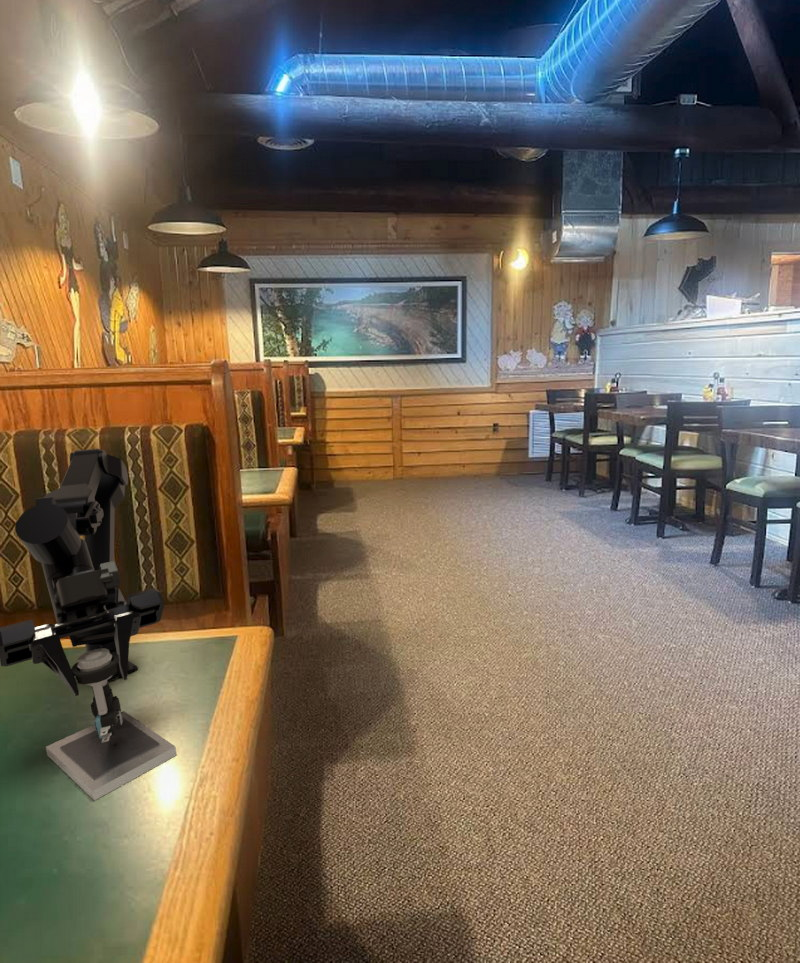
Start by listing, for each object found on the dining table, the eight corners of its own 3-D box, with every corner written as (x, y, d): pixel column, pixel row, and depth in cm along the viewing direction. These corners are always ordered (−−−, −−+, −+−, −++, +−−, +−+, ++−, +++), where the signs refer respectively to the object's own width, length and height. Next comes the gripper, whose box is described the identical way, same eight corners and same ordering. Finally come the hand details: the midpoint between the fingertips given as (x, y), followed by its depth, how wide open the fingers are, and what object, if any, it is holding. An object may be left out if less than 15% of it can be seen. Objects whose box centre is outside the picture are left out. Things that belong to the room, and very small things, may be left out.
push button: (129, 739, 73) (112, 665, 71) (80, 752, 72) (62, 676, 70) (134, 710, 79) (119, 641, 77) (90, 721, 78) (74, 651, 76)
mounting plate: (47, 755, 77) (45, 745, 76) (124, 718, 84) (123, 709, 84) (94, 800, 68) (92, 789, 67) (176, 755, 75) (175, 745, 75)
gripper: (-20, 563, 69) (7, 689, 62) (150, 529, 80) (188, 633, 73) (-11, 609, 76) (13, 725, 70) (142, 572, 87) (176, 670, 81)
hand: (101, 686), depth 73 cm, fingers closed on push button, 5 cm apart
